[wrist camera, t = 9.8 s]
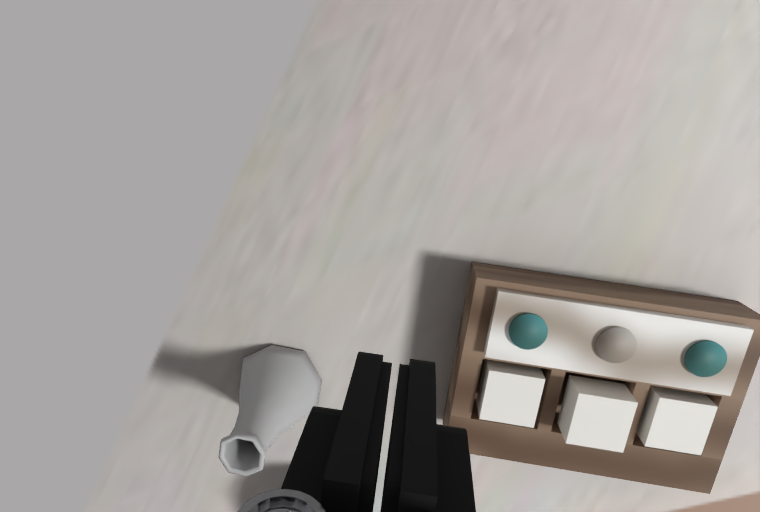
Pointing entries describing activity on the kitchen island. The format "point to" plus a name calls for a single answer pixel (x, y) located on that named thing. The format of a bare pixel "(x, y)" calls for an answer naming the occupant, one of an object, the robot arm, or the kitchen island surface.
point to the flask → (268, 405)
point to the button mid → (596, 413)
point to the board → (557, 380)
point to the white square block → (676, 420)
